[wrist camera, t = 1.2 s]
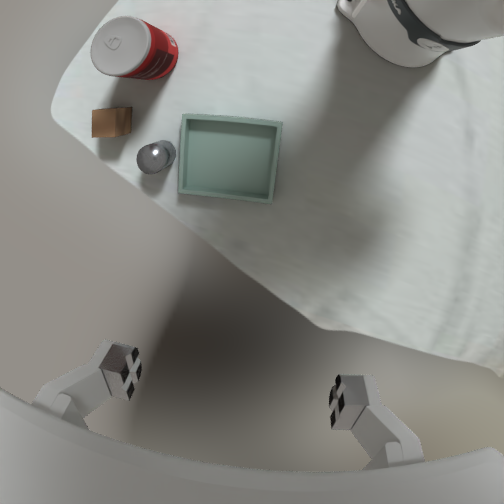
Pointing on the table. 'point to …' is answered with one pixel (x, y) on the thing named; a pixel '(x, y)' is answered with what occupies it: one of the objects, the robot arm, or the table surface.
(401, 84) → the table surface
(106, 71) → the canned food
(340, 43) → the table surface
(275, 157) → the tray
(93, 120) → the walnut block
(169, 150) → the metal peg
